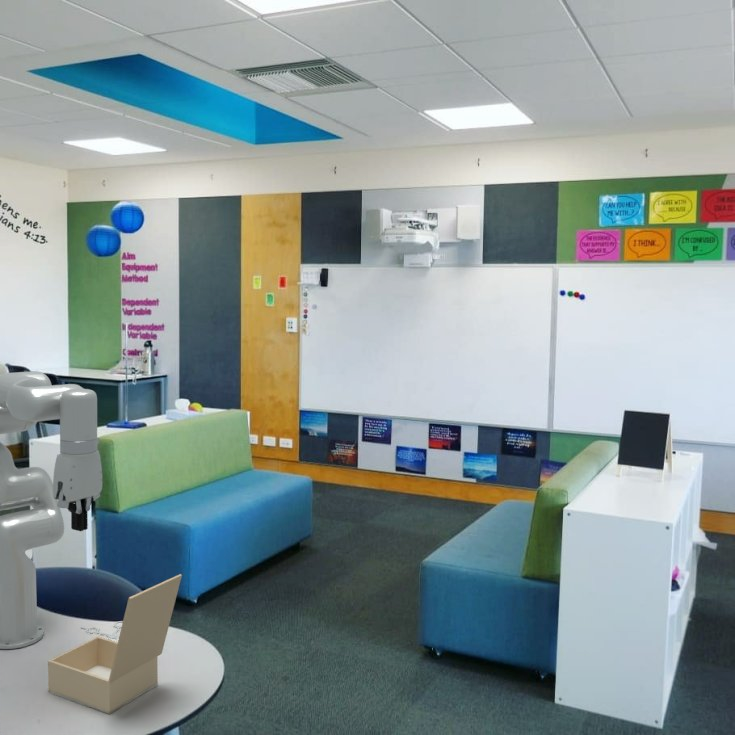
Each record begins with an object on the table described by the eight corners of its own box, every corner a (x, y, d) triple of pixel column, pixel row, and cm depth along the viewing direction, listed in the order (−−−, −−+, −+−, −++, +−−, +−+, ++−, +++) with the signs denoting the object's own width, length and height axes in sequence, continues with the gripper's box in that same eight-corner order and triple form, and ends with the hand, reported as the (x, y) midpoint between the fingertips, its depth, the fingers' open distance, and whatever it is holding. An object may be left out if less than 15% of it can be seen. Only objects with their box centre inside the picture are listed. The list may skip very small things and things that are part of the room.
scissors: (122, 618, 206) (145, 647, 190) (122, 621, 206) (146, 650, 190) (80, 627, 200) (101, 657, 184) (80, 630, 200) (101, 660, 184)
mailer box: (48, 692, 168) (47, 661, 168) (98, 665, 181) (98, 636, 180) (109, 714, 160) (109, 681, 159) (157, 684, 172) (157, 654, 172)
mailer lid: (128, 597, 154) (130, 598, 154) (180, 574, 167) (181, 575, 167) (108, 681, 159) (110, 683, 158) (160, 652, 172) (161, 653, 172)
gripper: (93, 438, 176) (93, 517, 178) (37, 450, 163) (38, 535, 165) (117, 443, 173) (117, 523, 175) (63, 455, 160) (64, 542, 162)
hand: (79, 529), depth 170 cm, fingers closed
